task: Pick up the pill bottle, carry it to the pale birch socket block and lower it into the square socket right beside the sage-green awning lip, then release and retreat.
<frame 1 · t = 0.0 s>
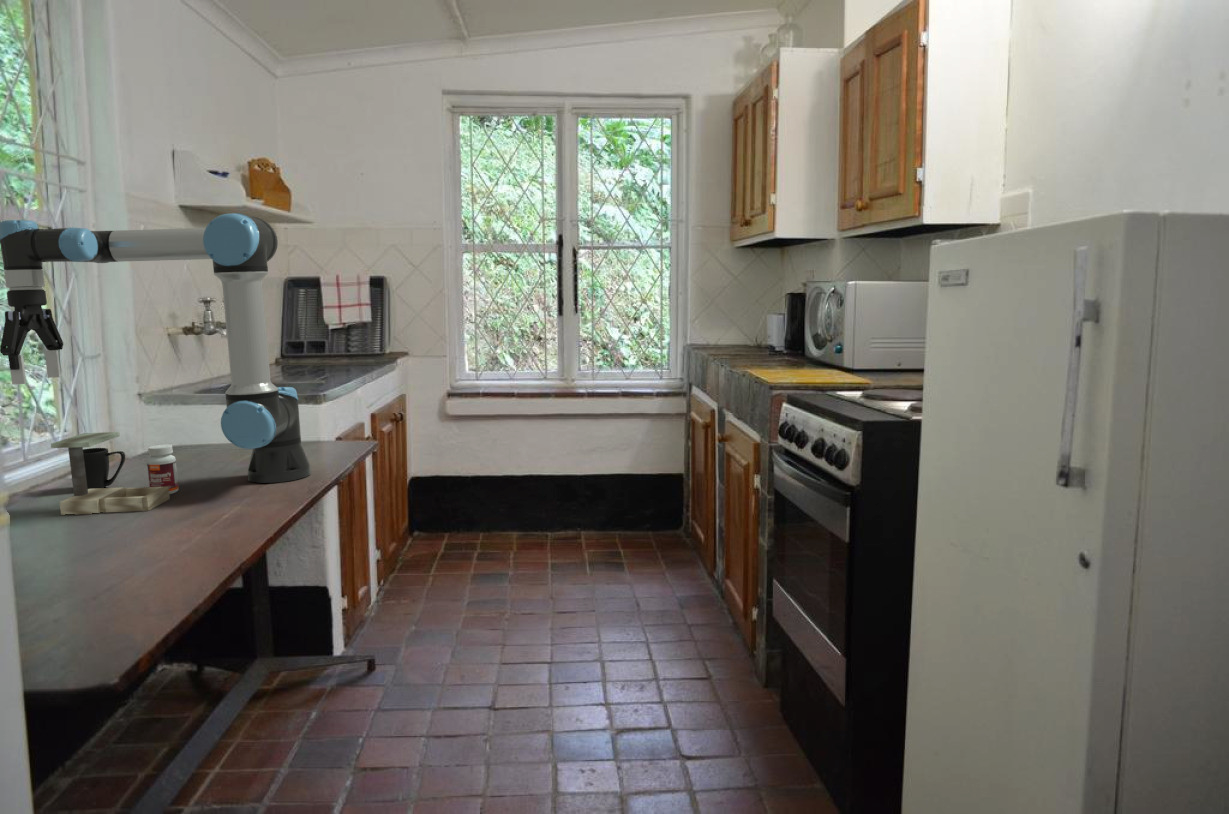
hand: (37, 380, 206), 28 cm above the table, fingers open, 13 cm apart
pill bottle: (164, 493, 212), on the table
socket block: (136, 505, 200), on the table
mug: (101, 488, 219), on the table
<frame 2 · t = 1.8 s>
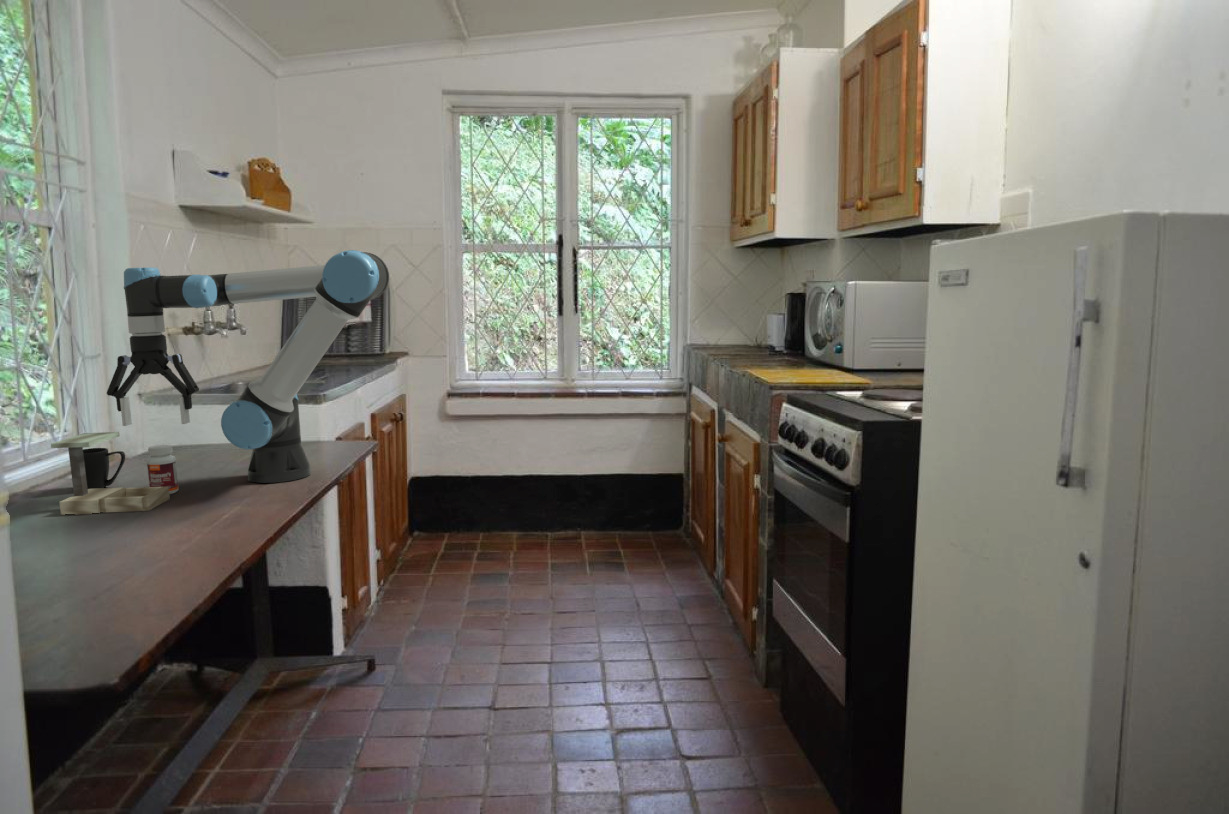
hand: (156, 424, 209), 17 cm above the table, fingers open, 13 cm apart
nothing on the table moved.
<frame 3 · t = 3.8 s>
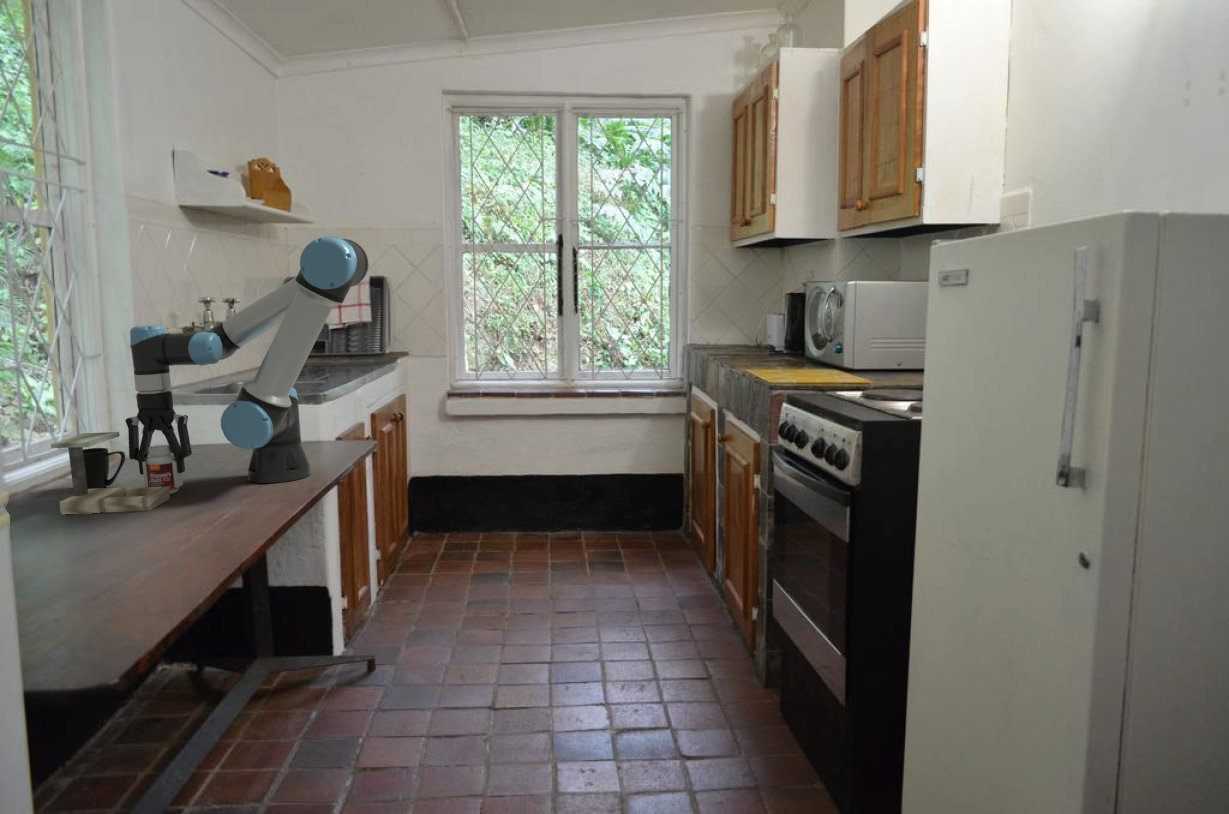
hand: (164, 486, 212), 1 cm above the table, fingers closed on pill bottle, 6 cm apart
pill bottle: (164, 493, 212), on the table, touching gripper
everything else where it was.
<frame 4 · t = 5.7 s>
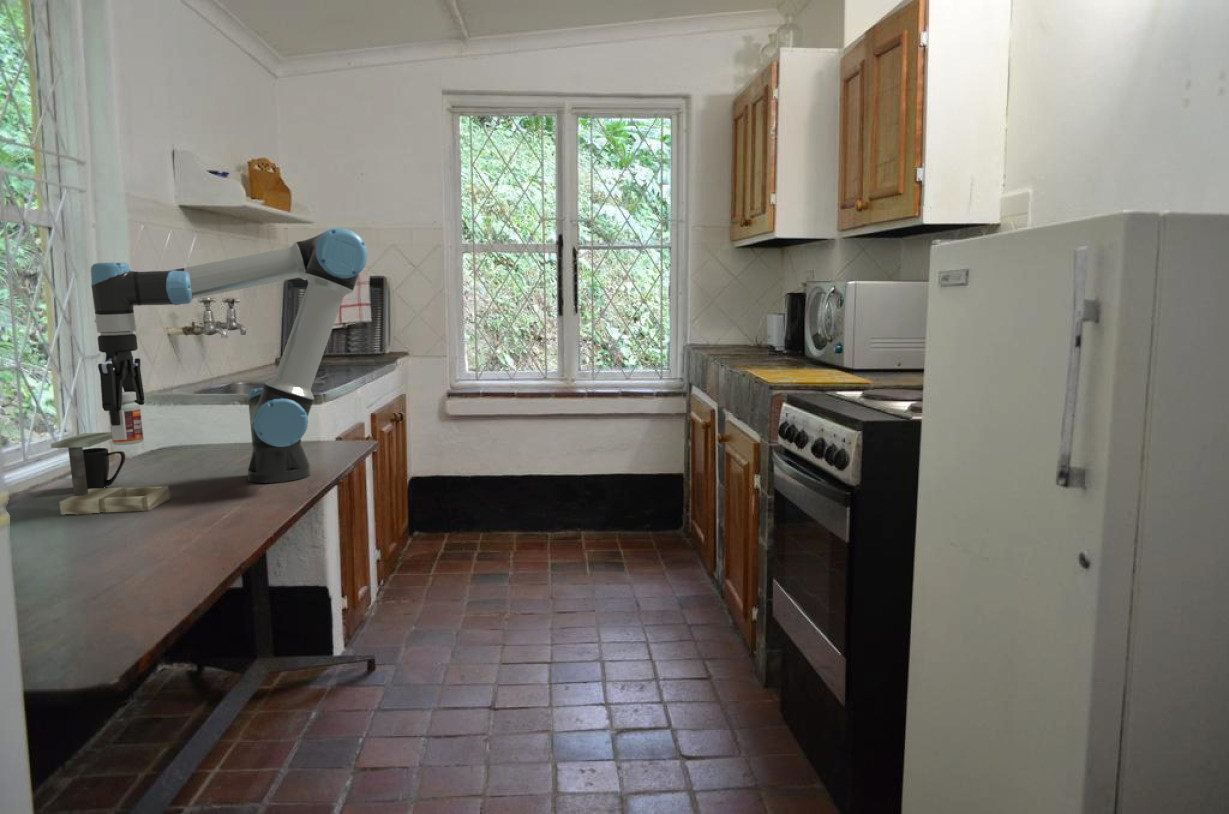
hand: (127, 436, 198), 16 cm above the table, fingers closed on pill bottle, 6 cm apart
pill bottle: (128, 443, 198), point 14 cm above the table, touching gripper
everything else where it was.
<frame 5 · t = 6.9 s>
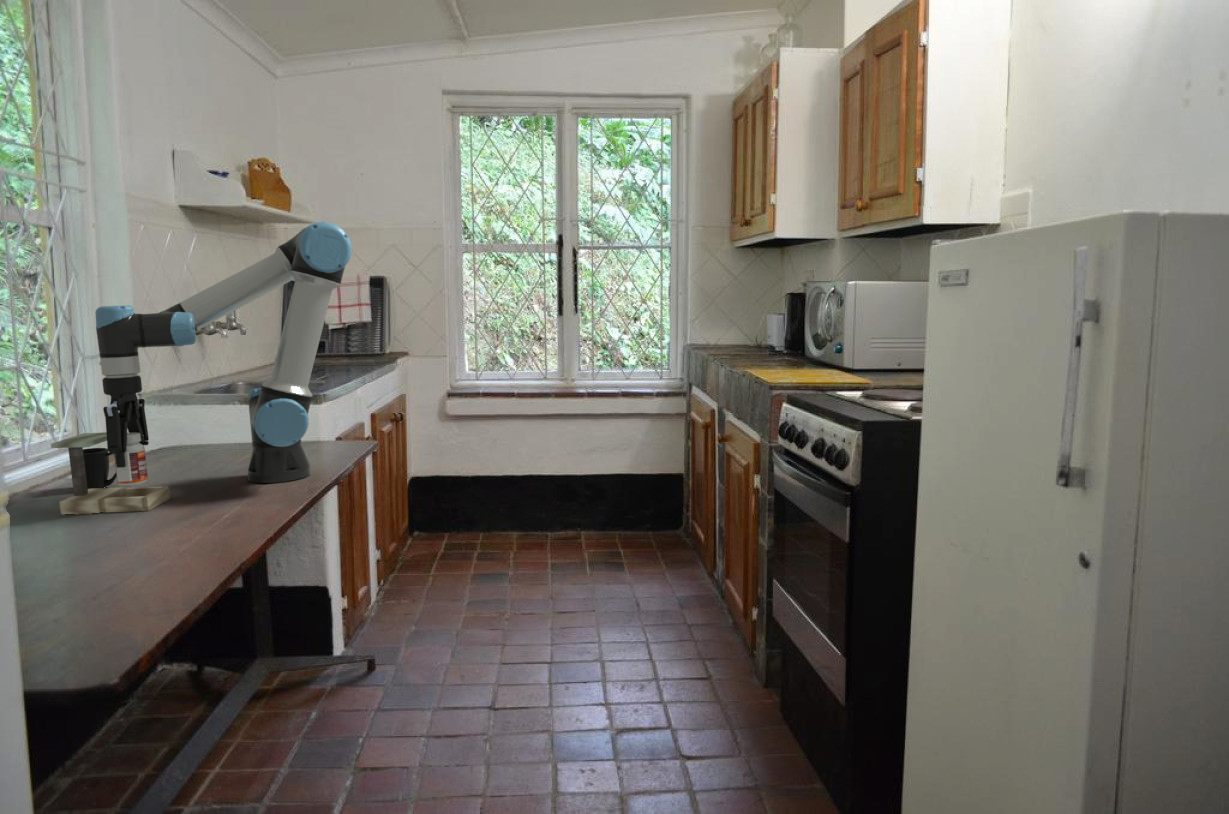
hand: (132, 477, 199), 7 cm above the table, fingers closed on pill bottle, 6 cm apart
pill bottle: (133, 484, 199), point 5 cm above the table, touching gripper
everything else where it was.
when the fingers open (4 cm above the table, at t = 7.7 s): pill bottle drops 2 cm, resting on socket block.
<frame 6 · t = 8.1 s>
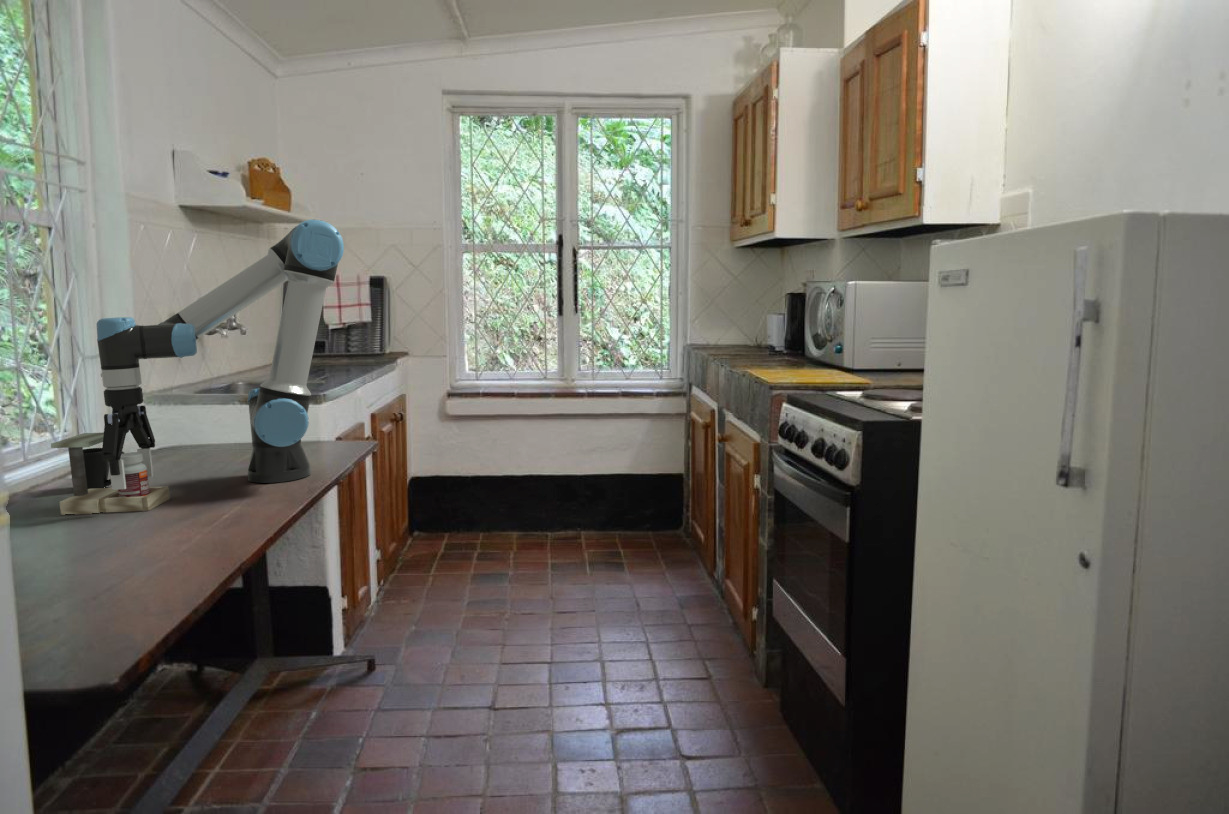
hand: (133, 482, 199), 5 cm above the table, fingers open, 12 cm apart
pill bottle: (135, 504, 200), resting on socket block
everything else where it was.
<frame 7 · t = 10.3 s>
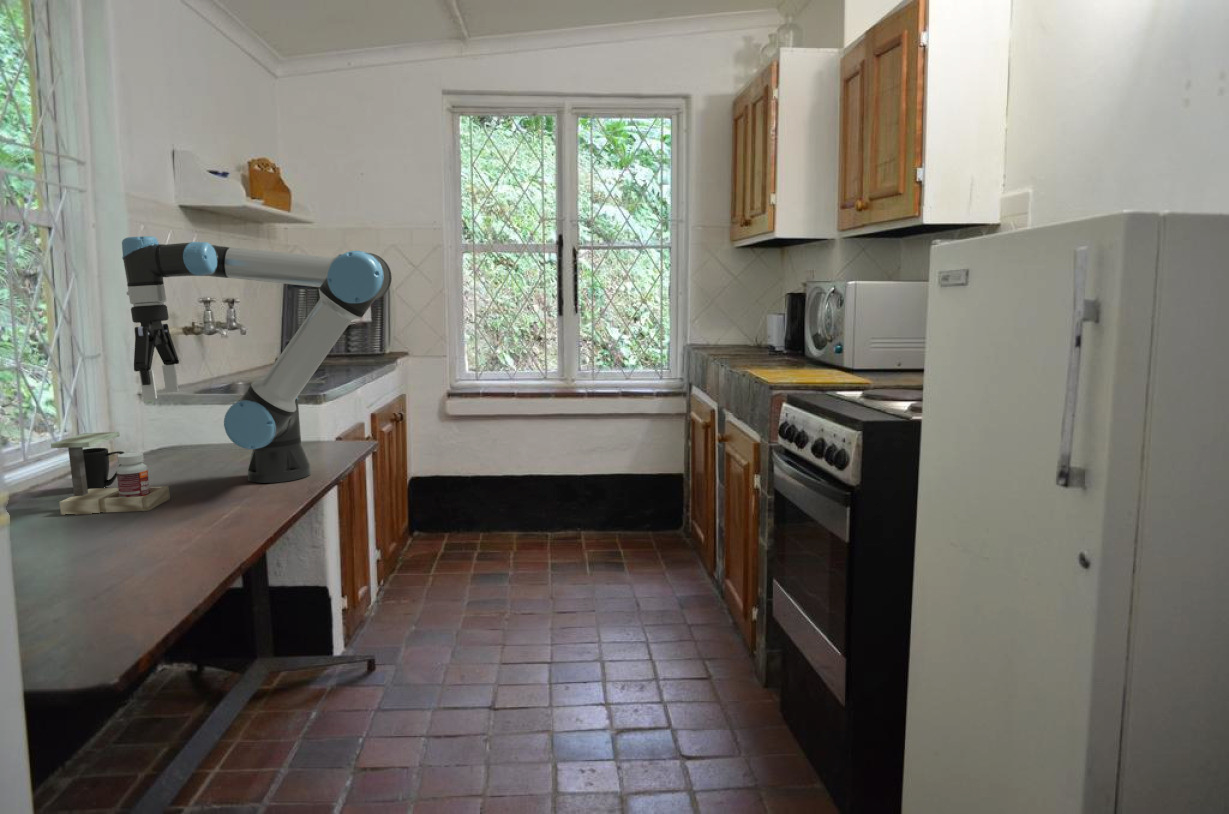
hand: (161, 395, 208), 24 cm above the table, fingers open, 13 cm apart
nothing on the table moved.
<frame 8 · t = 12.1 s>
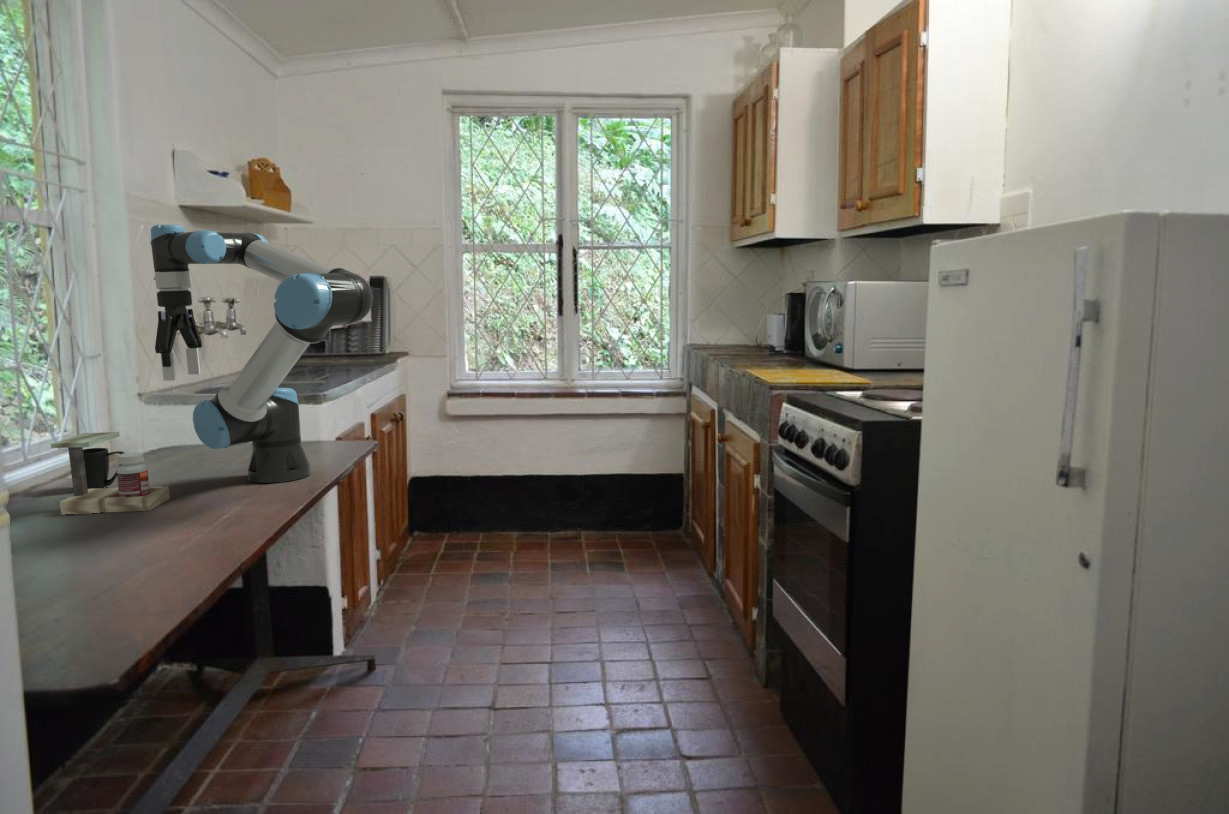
hand: (182, 377, 217), 27 cm above the table, fingers open, 13 cm apart
nothing on the table moved.
at the end: pill bottle 0.2 cm off-centre on the socket block, point 0.3 cm above the socket block's base; pill bottle tilted 1°; the gripper is holding nothing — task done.
